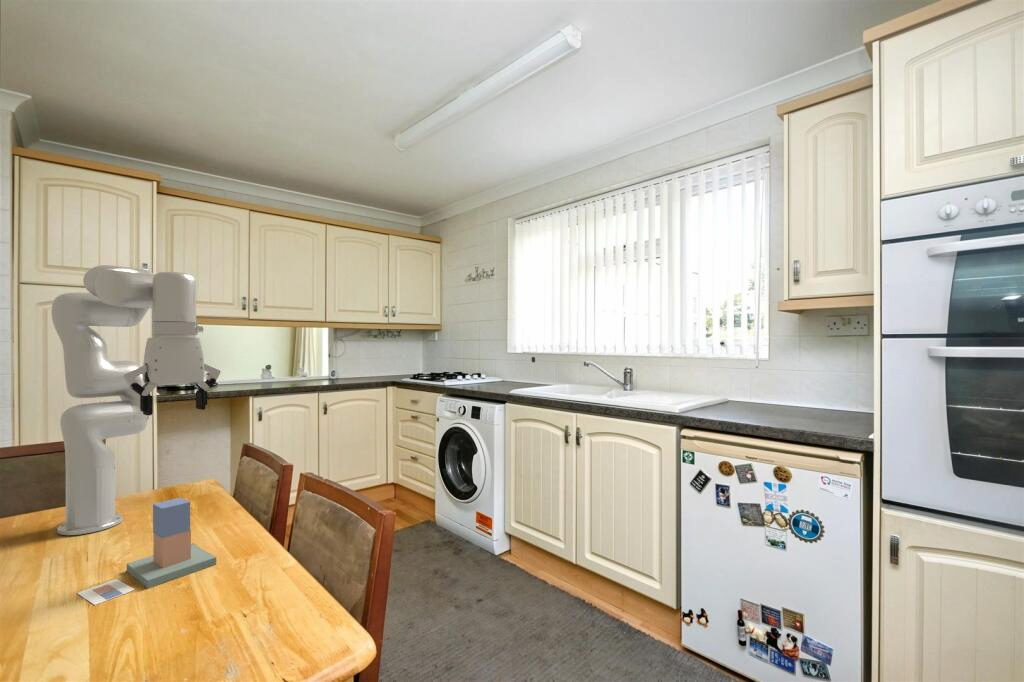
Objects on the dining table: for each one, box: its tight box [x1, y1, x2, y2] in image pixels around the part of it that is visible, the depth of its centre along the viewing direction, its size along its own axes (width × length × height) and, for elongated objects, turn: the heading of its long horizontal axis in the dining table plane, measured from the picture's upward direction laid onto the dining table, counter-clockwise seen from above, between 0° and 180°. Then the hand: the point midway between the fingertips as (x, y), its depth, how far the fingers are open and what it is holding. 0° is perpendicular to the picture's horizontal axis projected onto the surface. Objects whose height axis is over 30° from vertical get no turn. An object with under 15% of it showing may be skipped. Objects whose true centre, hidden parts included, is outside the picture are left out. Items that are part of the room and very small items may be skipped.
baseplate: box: [126, 542, 217, 589], centre depth 99 cm, size 12×12×2 cm
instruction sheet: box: [77, 578, 135, 606], centre depth 89 cm, size 8×6×1 cm
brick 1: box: [152, 497, 191, 538], centre depth 99 cm, size 5×5×6 cm
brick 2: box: [152, 529, 192, 568], centre depth 99 cm, size 5×5×6 cm
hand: (175, 411), depth 100 cm, fingers open, 9 cm apart
